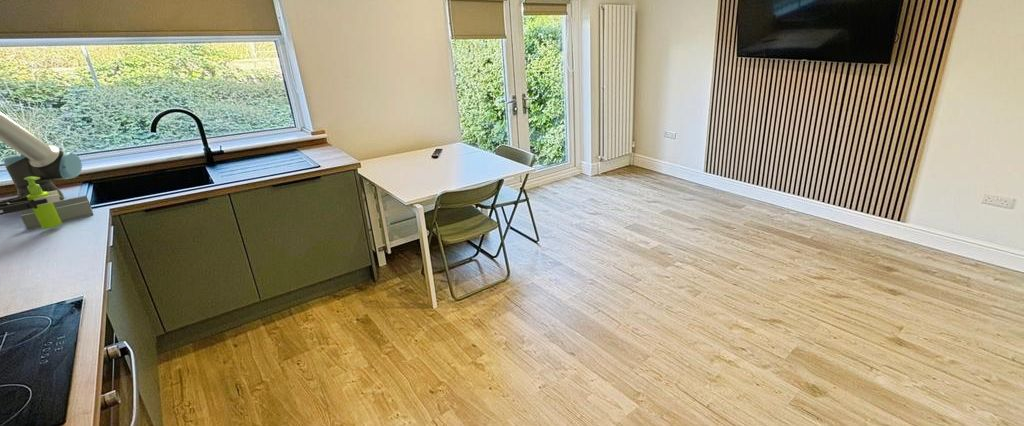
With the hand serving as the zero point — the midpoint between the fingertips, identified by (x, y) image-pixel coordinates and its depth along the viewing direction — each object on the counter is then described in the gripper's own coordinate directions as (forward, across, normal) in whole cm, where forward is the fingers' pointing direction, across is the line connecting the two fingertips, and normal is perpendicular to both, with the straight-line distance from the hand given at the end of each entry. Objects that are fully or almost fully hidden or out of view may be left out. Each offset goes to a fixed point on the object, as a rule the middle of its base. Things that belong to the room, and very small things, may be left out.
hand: (58, 195), depth 176 cm
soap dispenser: (-5, 0, -11) cm, 12 cm away
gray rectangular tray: (-3, -14, -13) cm, 19 cm away
